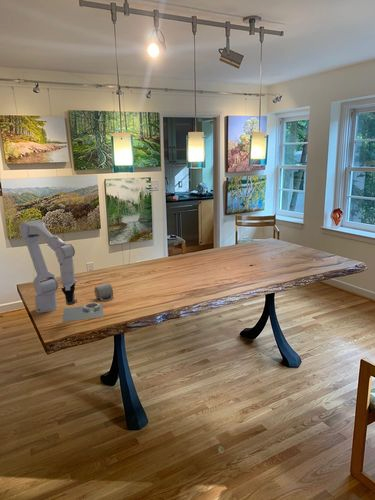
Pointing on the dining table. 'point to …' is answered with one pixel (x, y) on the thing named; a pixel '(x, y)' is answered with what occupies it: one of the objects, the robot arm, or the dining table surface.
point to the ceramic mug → (104, 292)
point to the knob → (73, 301)
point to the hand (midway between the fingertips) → (70, 300)
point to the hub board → (83, 312)
